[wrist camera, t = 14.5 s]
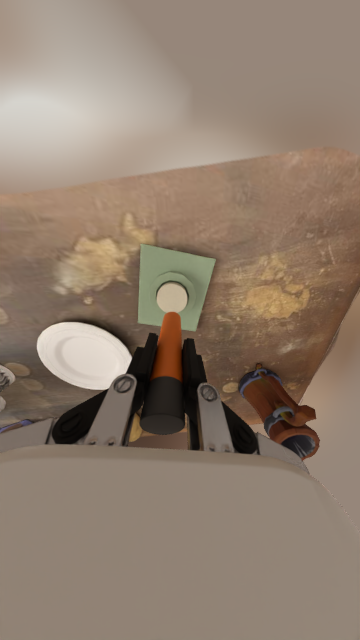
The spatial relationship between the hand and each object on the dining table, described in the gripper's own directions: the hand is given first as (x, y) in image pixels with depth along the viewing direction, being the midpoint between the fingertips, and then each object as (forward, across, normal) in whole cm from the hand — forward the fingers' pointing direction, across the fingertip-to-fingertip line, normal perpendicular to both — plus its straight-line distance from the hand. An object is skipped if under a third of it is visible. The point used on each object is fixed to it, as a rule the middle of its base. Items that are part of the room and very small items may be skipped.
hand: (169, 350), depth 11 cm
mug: (+15, -27, +18) cm, 36 cm away
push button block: (+15, 0, -1) cm, 15 cm away
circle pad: (+13, 0, -1) cm, 13 cm away
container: (+15, +52, +40) cm, 68 cm away
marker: (+6, 0, 0) cm, 6 cm away
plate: (+15, +17, +18) cm, 29 cm away
